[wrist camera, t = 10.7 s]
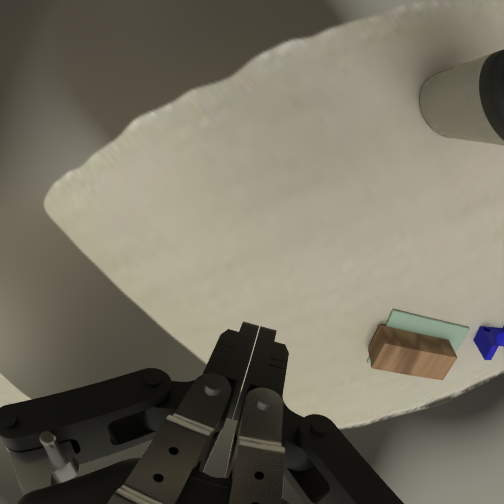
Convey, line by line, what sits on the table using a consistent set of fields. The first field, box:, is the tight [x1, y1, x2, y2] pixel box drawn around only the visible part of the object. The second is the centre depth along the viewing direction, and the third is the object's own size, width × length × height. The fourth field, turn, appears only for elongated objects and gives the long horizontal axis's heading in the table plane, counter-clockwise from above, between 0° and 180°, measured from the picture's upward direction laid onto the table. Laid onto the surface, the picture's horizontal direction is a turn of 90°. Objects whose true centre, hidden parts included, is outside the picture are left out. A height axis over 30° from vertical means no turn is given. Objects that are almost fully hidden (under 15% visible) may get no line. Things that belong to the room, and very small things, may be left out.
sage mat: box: [367, 309, 469, 364], centre depth 48 cm, size 16×11×1 cm
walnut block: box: [368, 325, 457, 380], centre depth 45 cm, size 5×5×14 cm
